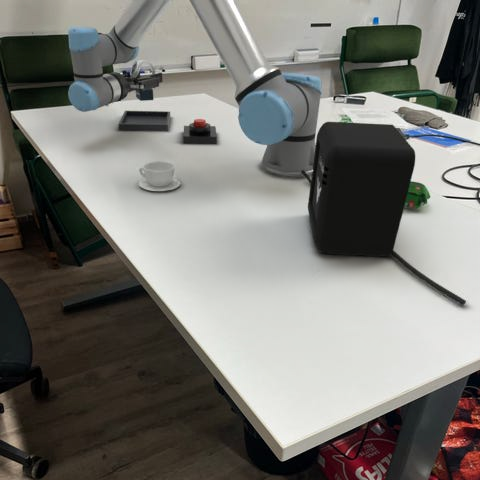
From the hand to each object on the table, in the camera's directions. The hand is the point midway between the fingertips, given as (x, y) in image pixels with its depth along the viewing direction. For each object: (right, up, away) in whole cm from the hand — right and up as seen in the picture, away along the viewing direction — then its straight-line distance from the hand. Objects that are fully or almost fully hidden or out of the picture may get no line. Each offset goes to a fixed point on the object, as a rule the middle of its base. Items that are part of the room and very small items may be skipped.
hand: (150, 75), depth 156 cm
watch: (-2, -8, 0) cm, 8 cm away
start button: (+17, -20, -9) cm, 28 cm away
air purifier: (+51, -63, -58) cm, 99 cm away
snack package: (+65, -52, -43) cm, 94 cm away
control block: (+17, -23, -7) cm, 29 cm away
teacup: (+10, -47, -40) cm, 62 cm away
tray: (-2, -14, +5) cm, 15 cm away
